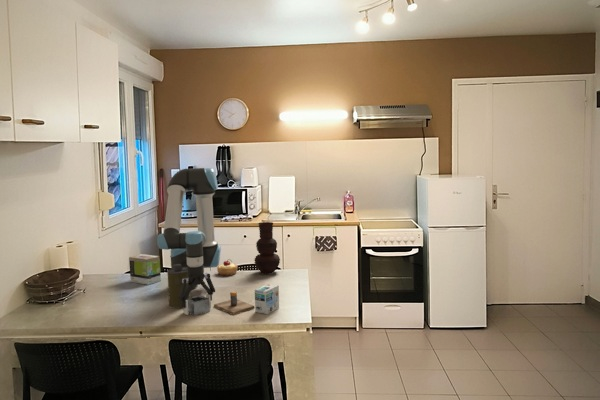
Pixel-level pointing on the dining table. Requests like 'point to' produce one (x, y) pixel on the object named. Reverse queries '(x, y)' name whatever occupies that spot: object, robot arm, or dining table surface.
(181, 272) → the canister
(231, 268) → the pastry
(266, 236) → the vase
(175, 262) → the robot arm
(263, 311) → the light bulb box
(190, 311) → the grey hollow block
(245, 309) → the wooden base with peg
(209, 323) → the dining table surface
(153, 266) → the tea box
